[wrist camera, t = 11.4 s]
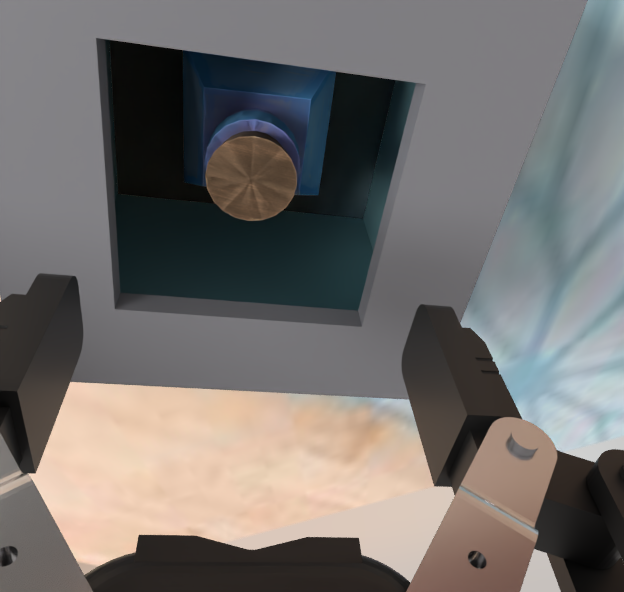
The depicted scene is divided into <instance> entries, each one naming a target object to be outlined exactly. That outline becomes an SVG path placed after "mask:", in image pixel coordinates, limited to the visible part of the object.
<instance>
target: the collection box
mask: <svg viewBox="0 0 624 592" xmlns="http://www.w3.org/2000/svg"><path fill="white" fill-rule="evenodd" d="M587 1H588V0H0V296H1V301H2V300H4V299H5V298H6V297H8V296H9V295H10V294H23V295H26V294H27V292H28V290H29V289H30V287H31V285H32V283H33V281H34V280H35V278H36V276H37V275H38V274H39V273H45V274H57V275H70V276H76V278H77V281H78V286H79V295H80V304H81V313H82V321H83V345H82V350H81V354H80V357H79V360H78V362H77V365H76V368H75V370H74V373H73V376H72V378H71V381H70V382H85V383H105V384H124V385H143V386H162V387H181V388H201V389H220V390H239V391H258V392H277V393H297V394H316V395H335V396H354V397H373V398H393V399H409V396H408V393H407V389H406V386H405V382H404V379H403V375H402V366H401V364H402V354H403V350H404V347H405V344H406V340H407V337H408V334H409V331H410V328H411V325H412V322H413V319H414V316H415V313H416V311H417V308H418V307H419V305H421V304H426V305H438V306H450V307H452V308H453V310H454V311H455V314H456V316H457V318H458V320H459V323H460V322H461V319H462V317H463V314H464V312H465V309H466V307H467V304H468V302H469V299H470V297H471V294H472V292H473V289H474V287H475V284H476V281H477V279H478V276H479V274H480V271H481V269H482V266H483V264H484V261H485V259H486V256H487V254H488V251H489V249H490V246H491V244H492V241H493V238H494V236H495V233H496V231H497V228H498V226H499V223H500V221H501V218H502V216H503V213H504V211H505V208H506V206H507V203H508V201H509V198H510V196H511V193H512V190H513V188H514V185H515V183H516V180H517V178H518V175H519V173H520V170H521V168H522V165H523V163H524V160H525V158H526V155H527V153H528V150H529V147H530V145H531V142H532V140H533V137H534V135H535V132H536V130H537V127H538V125H539V122H540V120H541V117H542V115H543V112H544V110H545V107H546V104H547V102H548V99H549V97H550V94H551V92H552V89H553V87H554V84H555V82H556V79H557V77H558V74H559V72H560V69H561V67H562V64H563V61H564V59H565V56H566V54H567V51H568V49H569V46H570V44H571V41H572V39H573V36H574V34H575V31H576V29H577V26H578V24H579V21H580V18H581V16H582V13H583V11H584V8H585V6H586V3H587ZM110 40H115V41H122V42H129V43H136V44H143V45H150V46H157V47H165V48H172V49H179V50H186V51H193V52H200V53H207V54H214V55H222V56H229V57H236V58H243V59H250V60H257V61H264V62H271V63H278V64H286V65H293V66H300V67H307V68H314V69H321V70H328V71H335V72H343V73H350V74H357V75H364V76H371V77H378V78H385V79H392V80H395V83H394V88H393V92H392V96H391V101H390V105H389V109H388V114H387V118H386V122H385V127H384V131H383V135H382V139H381V144H380V148H379V152H378V157H377V161H376V165H375V170H374V174H373V178H372V183H371V187H370V191H369V195H368V200H367V204H366V208H365V213H364V217H363V219H362V218H352V217H343V216H333V215H323V214H313V213H303V212H293V211H283V210H282V211H281V212H279V213H278V214H277V215H275V216H273V217H270V218H267V219H264V220H255V221H247V220H243V219H239V218H235V217H233V216H231V215H229V214H228V213H226V212H224V211H223V210H222V209H221V208H220V207H219V206H218V205H217V204H214V203H204V202H194V201H184V200H174V199H165V198H155V197H145V196H135V195H125V194H118V180H117V162H116V144H115V126H114V108H113V90H112V72H111V54H110Z"/></svg>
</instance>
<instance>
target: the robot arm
mask: <svg viewBox="0 0 624 592" xmlns="http://www.w3.org/2000/svg"><path fill="white" fill-rule="evenodd" d="M82 345H83V321H82V313H81V304H80V295H79V286H78V281H77V278H76V276H70V275H57V274H45V273H39V274H38V275H37V276H36V278H35V280H34V281H33V283H32V285H31V287H30V289H29V290H28V292H27V294H26V295H23V294H10V295H9V296H8V297H6V298H5V299H4V300H2V301H1V302H0V592H520V590H521V587H522V584H523V580H524V577H525V574H526V571H527V568H528V565H529V562H530V559H531V556H532V553H533V550H534V549H536V550H540V551H543V552H546V553H547V555H548V557H549V560H550V563H551V566H552V568H553V571H554V574H555V577H556V579H557V582H558V585H559V587H560V590H561V592H624V450H608V451H605V452H604V453H602V454H601V456H600V457H599V458H598V460H597V461H596V462H595V463H594V462H591V461H588V460H585V459H581V458H578V457H575V456H572V455H569V454H566V453H563V452H560V451H557V450H556V448H555V445H554V443H553V442H552V440H551V439H550V438H549V437H548V435H547V434H546V433H545V432H543V431H542V430H541V429H540V428H538V427H537V426H535V425H534V424H532V423H530V422H528V421H525V420H522V418H521V416H520V414H519V411H518V409H517V407H516V405H515V403H514V401H513V399H512V397H511V395H510V393H509V391H508V389H507V387H506V385H505V383H504V381H503V379H502V377H501V375H499V370H498V368H497V366H496V364H495V362H493V361H492V360H493V358H492V356H491V354H490V352H489V350H488V348H487V346H486V344H485V342H484V341H483V340H482V339H481V338H480V337H479V336H478V335H477V334H476V333H475V332H474V331H473V330H472V329H471V328H462V327H461V325H460V323H459V320H458V318H457V316H456V314H455V311H454V310H453V308H452V307H450V306H438V305H426V304H421V305H419V307H418V308H417V311H416V313H415V316H414V319H413V322H412V325H411V328H410V331H409V334H408V337H407V340H406V344H405V347H404V350H403V354H402V364H401V366H402V375H403V379H404V382H405V386H406V389H407V393H408V396H409V400H410V403H411V407H412V410H413V414H414V417H415V421H416V424H417V428H418V431H419V435H420V438H421V441H422V445H423V448H424V452H425V455H426V459H427V462H428V466H429V469H430V473H431V476H432V480H433V483H434V486H447V487H452V488H453V491H454V495H455V497H454V499H453V501H452V503H451V505H450V507H449V509H448V511H447V513H446V514H445V516H444V518H443V521H442V522H441V525H440V526H439V528H438V530H437V532H436V534H435V536H434V538H433V540H432V542H431V544H430V546H429V548H428V550H427V552H426V554H425V556H424V558H423V560H422V562H421V564H420V566H419V568H418V569H417V571H416V573H415V575H414V577H413V579H412V581H411V583H410V582H409V581H408V580H407V579H405V578H404V577H403V576H402V575H400V574H399V573H398V572H396V571H395V570H393V569H392V568H390V567H388V566H387V565H385V564H383V563H381V562H379V561H376V560H374V559H372V558H369V557H366V556H362V555H361V549H360V544H359V538H331V537H329V538H328V537H327V538H326V537H306V538H302V539H298V540H294V541H290V542H286V543H282V544H277V545H274V546H269V547H266V548H261V549H257V550H247V549H243V548H240V547H235V546H232V545H228V544H225V543H221V542H217V541H213V540H210V539H206V538H202V537H198V536H180V535H139V537H138V543H137V548H136V552H135V553H132V554H128V555H124V556H122V557H119V558H116V559H113V560H111V561H109V562H107V563H105V564H103V565H101V566H98V567H97V568H95V569H94V570H92V571H90V572H89V573H87V574H85V575H84V574H83V572H82V570H81V569H80V567H79V565H78V563H77V561H76V559H75V558H74V556H73V554H72V552H71V550H70V548H69V547H68V545H67V543H66V541H65V539H64V537H63V535H62V534H61V532H60V530H59V528H58V526H57V524H56V523H55V521H54V519H53V517H52V515H51V513H50V512H49V510H48V508H47V506H46V504H45V502H44V501H43V499H42V497H41V495H40V493H39V491H38V490H37V488H36V486H35V484H34V482H33V480H32V479H31V477H30V476H29V474H28V473H36V471H37V468H38V466H39V463H40V460H41V458H42V455H43V452H44V450H45V447H46V444H47V442H48V439H49V436H50V434H51V431H52V428H53V426H54V423H55V421H56V418H57V415H58V413H59V410H60V407H61V405H62V402H63V399H64V397H65V394H66V391H67V389H68V386H69V384H70V381H71V378H72V376H73V373H74V370H75V368H76V365H77V362H78V360H79V357H80V354H81V350H82ZM621 557H622V558H621Z"/></svg>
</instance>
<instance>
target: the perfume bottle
mask: <svg viewBox="0 0 624 592" xmlns="http://www.w3.org/2000/svg"><path fill="white" fill-rule="evenodd" d="M335 77H336V72H335V71H328V70H321V69H314V68H307V67H300V66H293V65H286V64H278V63H271V62H264V61H257V60H250V59H243V58H236V57H229V56H222V55H214V54H207V53H200V52H193V51H186V50H183V133H184V183H189V184H194V185H199V186H205V187H207V190H208V192H209V194H210V196H211V198H212V199H213V201H214V202H215V203H216V204H217V205H218V206H219V207H220V208H221V209H222V210H223V211H224V212H226V213H228V214H229V215H231V216H233V217H235V218H239V219H243V220H247V221H255V220H264V219H267V218H270V217H273V216H275V215H277V214H278V213H279V212H281V211H282V210H284V209H285V208H286V207H287V205H288V204H289V203H290V201H291V200H292V198H293V197H294V195H319V188H320V181H321V174H322V167H323V160H324V153H325V146H326V139H327V132H328V126H329V119H330V112H331V105H332V98H333V91H334V84H335Z"/></svg>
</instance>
